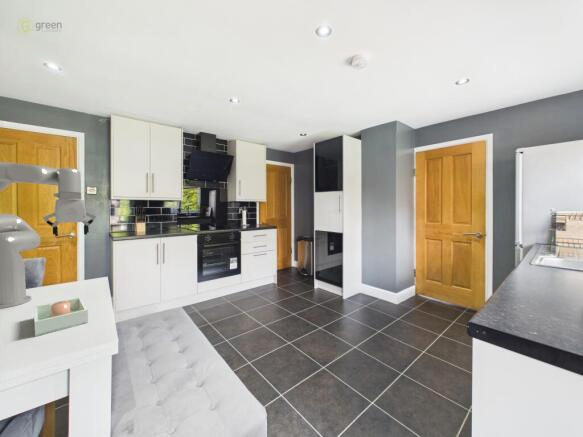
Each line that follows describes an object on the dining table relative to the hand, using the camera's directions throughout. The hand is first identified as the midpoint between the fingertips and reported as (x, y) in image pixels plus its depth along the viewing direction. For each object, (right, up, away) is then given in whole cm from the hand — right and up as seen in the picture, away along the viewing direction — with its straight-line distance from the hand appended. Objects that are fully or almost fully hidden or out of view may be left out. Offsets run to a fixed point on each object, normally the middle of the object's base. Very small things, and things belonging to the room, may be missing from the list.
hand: (71, 235), depth 108 cm
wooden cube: (+8, -31, -14) cm, 34 cm away
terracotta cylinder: (+14, -31, -19) cm, 39 cm away
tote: (+11, -31, -16) cm, 37 cm away
